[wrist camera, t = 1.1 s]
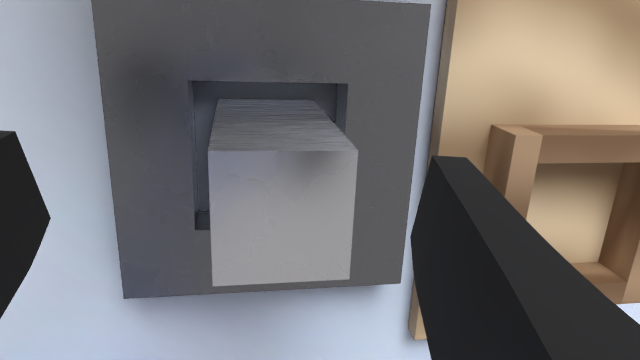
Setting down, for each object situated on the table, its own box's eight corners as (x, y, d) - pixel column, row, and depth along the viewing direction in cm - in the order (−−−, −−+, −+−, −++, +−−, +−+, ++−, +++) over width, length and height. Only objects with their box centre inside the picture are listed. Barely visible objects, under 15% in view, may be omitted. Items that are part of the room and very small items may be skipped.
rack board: (592, 314, 27) (633, 349, 24) (408, 327, 25) (429, 367, 22) (684, -30, 21) (752, -37, 18) (452, -46, 19) (489, -56, 17)
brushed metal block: (310, 187, 22) (349, 279, 14) (221, 189, 21) (212, 286, 14) (313, 99, 20) (358, 150, 13) (218, 98, 20) (207, 151, 12)
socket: (387, 262, 24) (400, 283, 22) (133, 274, 22) (123, 298, 20) (412, 5, 20) (431, 4, 18) (105, -10, 18) (90, -13, 16)
